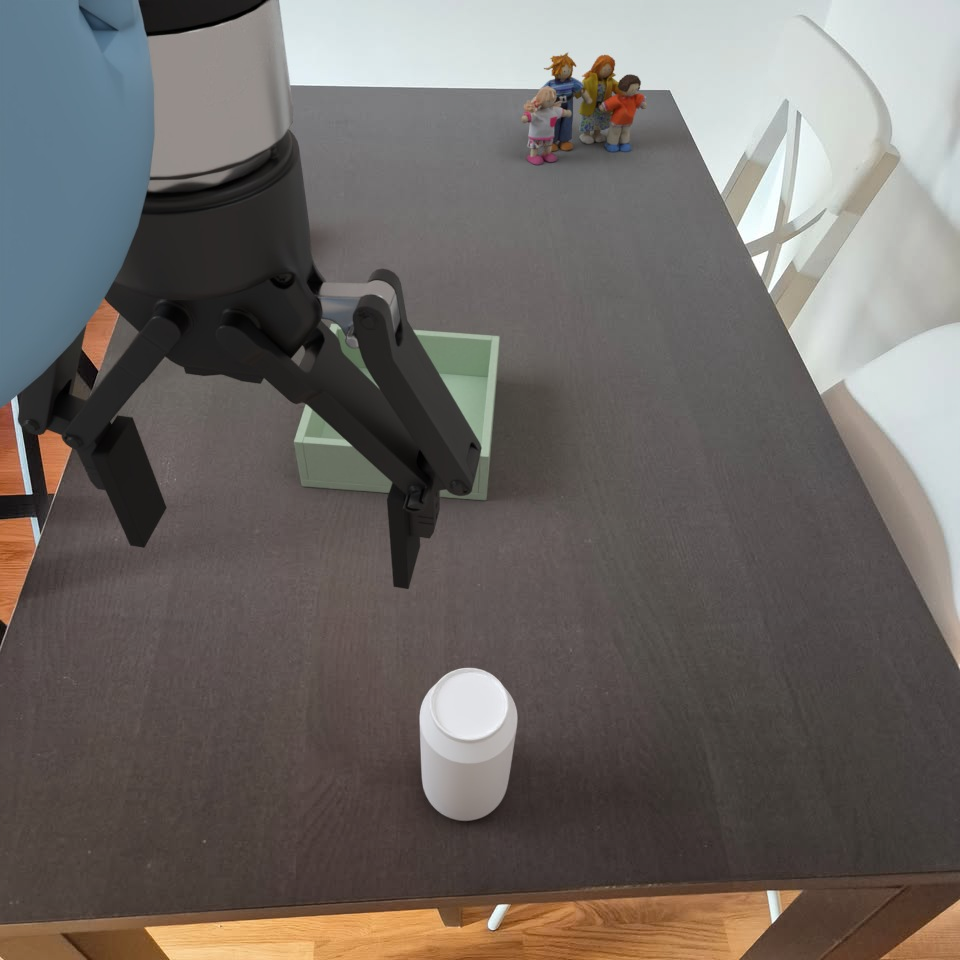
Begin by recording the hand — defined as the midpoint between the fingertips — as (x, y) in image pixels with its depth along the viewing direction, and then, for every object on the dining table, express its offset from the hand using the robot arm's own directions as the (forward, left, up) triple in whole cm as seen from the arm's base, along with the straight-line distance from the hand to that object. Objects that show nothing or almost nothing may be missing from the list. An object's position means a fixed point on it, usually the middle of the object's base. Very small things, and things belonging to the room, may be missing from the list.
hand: (276, 546), depth 42 cm
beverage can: (+10, -1, -26) cm, 27 cm away
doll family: (+18, +101, -26) cm, 106 cm away
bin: (+1, +35, -25) cm, 43 cm away
